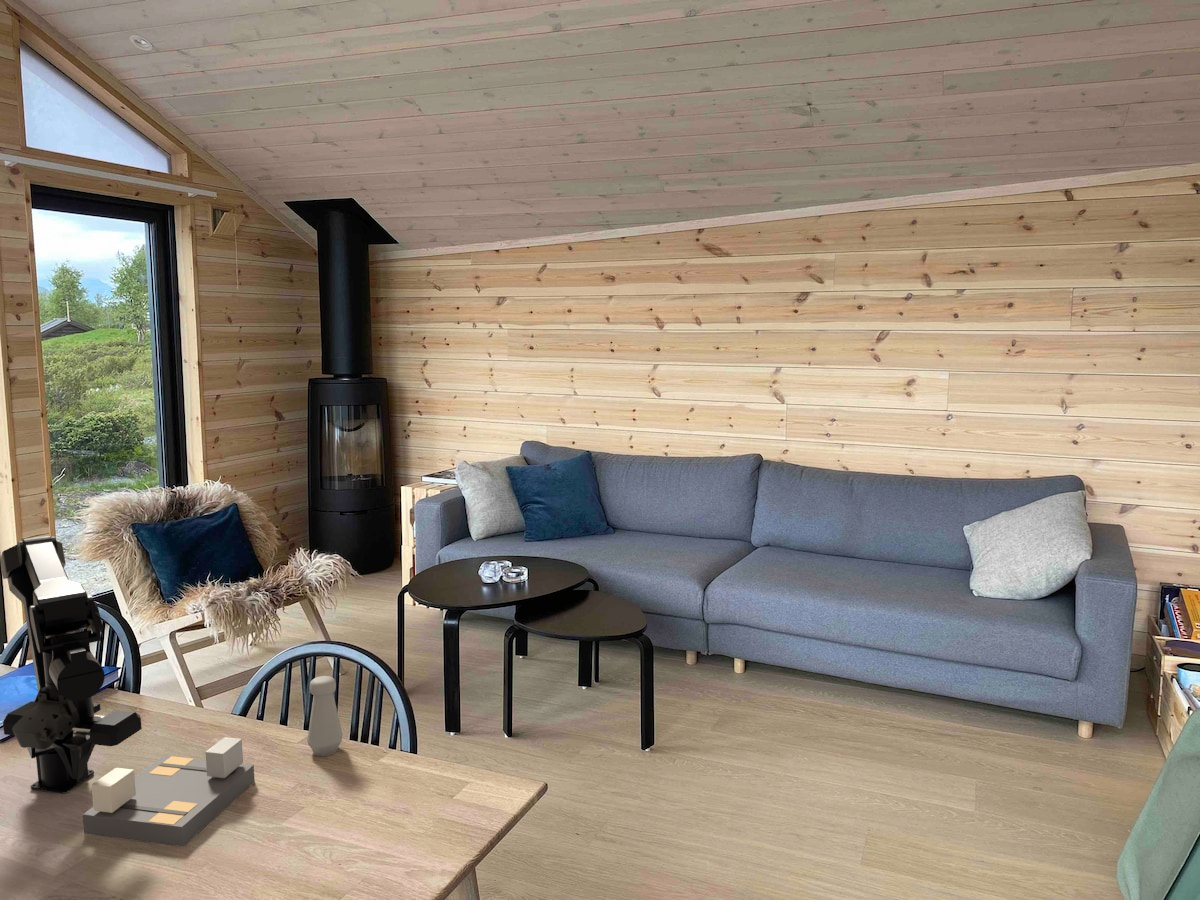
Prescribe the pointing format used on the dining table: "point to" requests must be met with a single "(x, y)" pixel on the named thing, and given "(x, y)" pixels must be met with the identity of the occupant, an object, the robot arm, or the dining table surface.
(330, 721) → the salt shaker
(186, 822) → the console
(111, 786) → the cream fader
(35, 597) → the robot arm
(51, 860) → the dining table surface
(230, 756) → the block
